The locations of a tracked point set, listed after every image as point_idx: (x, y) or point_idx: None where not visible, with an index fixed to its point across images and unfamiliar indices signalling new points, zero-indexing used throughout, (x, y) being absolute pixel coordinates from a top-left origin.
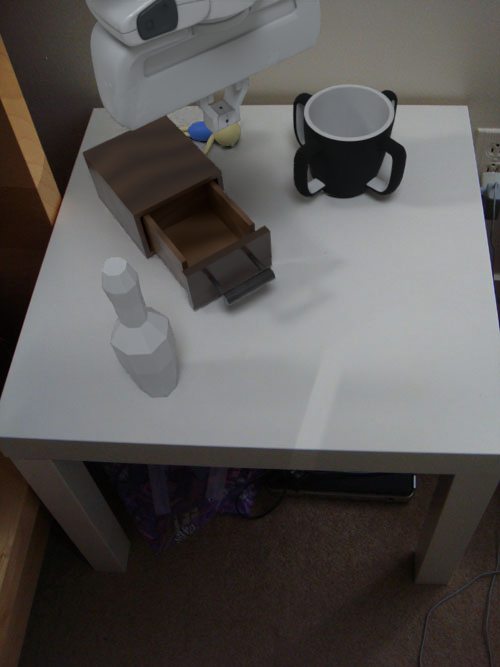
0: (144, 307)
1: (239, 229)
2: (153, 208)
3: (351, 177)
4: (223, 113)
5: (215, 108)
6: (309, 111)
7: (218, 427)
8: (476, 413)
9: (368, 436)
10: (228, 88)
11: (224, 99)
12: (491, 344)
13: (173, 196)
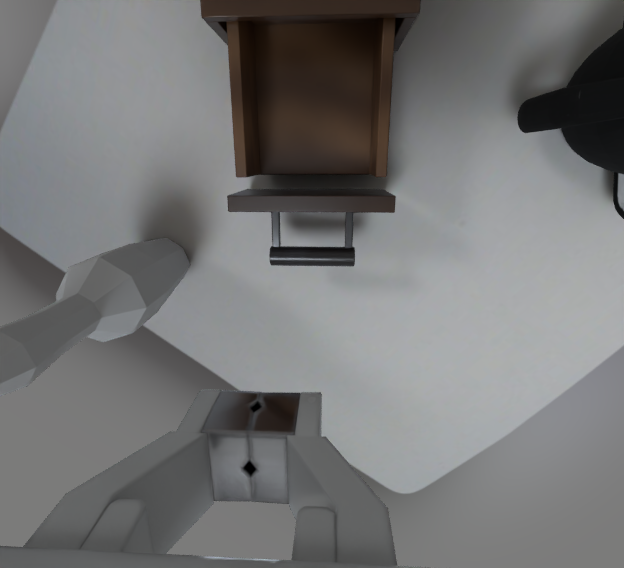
0: (84, 334)
1: (373, 138)
2: (248, 19)
3: (607, 166)
4: (239, 500)
5: (228, 458)
6: None
7: (200, 346)
8: (422, 472)
9: (322, 434)
10: (312, 488)
11: (287, 449)
12: (500, 436)
13: (296, 16)
